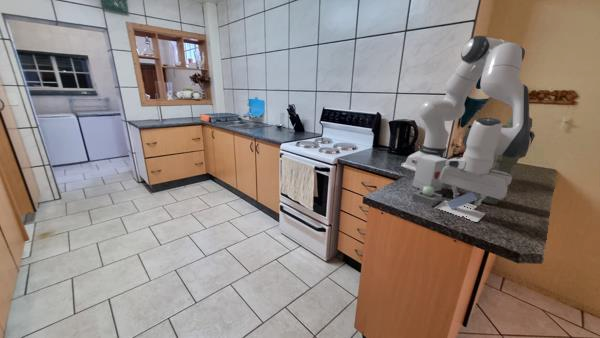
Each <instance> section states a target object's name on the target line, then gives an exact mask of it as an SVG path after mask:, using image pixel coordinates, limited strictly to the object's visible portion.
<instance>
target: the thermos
mask: <svg viewBox="0 0 600 338" xmlns="http://www.w3.org/2000/svg"><path fill="white" fill-rule="evenodd" d="M512 127H513V115H511V116H510V117H509V118H508V119H507V121H506V122H505V124H504V125H502V128H512ZM532 127H533V118H531V117H530V116H529V131H530V139H531V143H530V146H531V145H532V144H533V141H534V139H535V137H536V135H535V133H534V131H532ZM528 151H529V149H528V150H527V152H526V153H525V154H523V155H521V156H518V157H515V158H511V157H506V156H502V155H497V154H494V162H493V165H492V169H495V170H499V171H502V172H503V171H504V172H507V173H508V174H510V175H511V172H512V171H513V168H514V167H515V165H516V164H518V161H519V160H520V159H523V158H525V157H526V155H527V153H528ZM507 176H509V175H507ZM478 194H479V193H478ZM479 196H480V198H479V199H481V198H482V197H481V194H479ZM499 201H500V199H496V198H493V197H489V196H487V197H486V198H485V199H483V200H482V201H481V203H486V204H489V205H498V203H499Z"/></svg>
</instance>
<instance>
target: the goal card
mask: <svg viewBox="0 0 600 338" xmlns="http://www.w3.org/2000/svg"><path fill="white" fill-rule="evenodd" d="M462 206H463V207H464V206H465V207H466V208H467V207H468V208H469V209H470V208H471V209H472V210H476V209H477V208H478V205H476V204H471V203H467V204H464V205H462Z"/></svg>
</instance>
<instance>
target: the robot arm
mask: <svg viewBox="0 0 600 338" xmlns="http://www.w3.org/2000/svg"><path fill="white" fill-rule="evenodd" d="M525 54H526V51H525V48H523V47H522V46H520V44H518V43H516V42H510V41H508V40H504V39H498V38H494V37H487V36H485V35H474V36H472V37H471V38H469V40H468V41H467V42H466V43H465V45H464V46H463V48H462V50H461V53H460V56H461V57H460V58H461V62H459V64H458V65H457V67H456V68H455V70H454V72H453V73H452V75H451V76H450V78H449V79H448V80H447V82H446V84H445V85H444V86H445V91H446V93H445V96H444V98H443V99H431V100H427V101H424V102H423V103H422V104H421V105H420V107H419V110H418V114H419V117H420V119H421V120H423V123H424V127H425V132H424V133H425V134H424V141H423V144H421V145H419V146H418V149H419V150H418V151H415V152H414V153H411V154H410V155H408V156H407V158H406V161H405V162H402V163H401V165H400V167H402V168H404V169H407V170H410V171H413V172H416V167H417V162H418V157H419V156H425V155H434V156H438V157H441V158H445V157H446V154H447V145H448V140H449V135H450V134H449V131H448V130H447V129H446V126H445V123H446V122H452V121H456V120H458V119H461V118H462V117H463V115H464V114H465V112H466V106H465V102H466V100H467V97H468V96H469V94H470V93H471V92H472V89H474V87H475V86H476V84H477V83H478V81H479V80H480V83H479V84H480V89H481V91H482V92H483V93H484V94H485V95H486V96H488V97H489V98H491V99H494V100H498V101H501V102H503V103H504V104H507V105H509V106H510V107H511V109H512V116H513V127H512V128H502V126H503V122H502V121H501V120H500V119H497V118H495V117H494V118H493V117H480V118H476V119H474V121H473V123H472V125H471V127H469V128H467V129H466V130H465V133H464V138H463V141H462V145H463V146H464V147H465V148H466V149H465V151H464V153H463V155H462V157H453V158H449V159H448V160H447V161H446V165H447V166H445V167H444V168H443V170H442V172H441V175H440V182H442V183H443V184H445V185H448V186H451V190H452V192H453V195H452V197H453V199H455V198H458V197H459V196H461V194H460V192H459V191H458V188H459V189H462V190H466V191H469V192H471V191H472V192H476V193H479V194H481V197H482V198H481V199H477V200H475V201H474V204H473V205H475V206H481V205H482V200H483V199H485V198H486V197H487V196H489V197H493V198H496V199H499V200H501V199H502V200H503V199H504V198H505V197H507V193H508V188H509V187H508V186H509V185H510V184H511V183H512V180H513V177H512V175H511V173H510V174H508V173H507V172H504V171H503V172H502V171H499V170H495V169H492V165H493V162H494V154H497V155H502V156H506V157H511V158H515V157H518V156H521V155H523V154H525V153H526V152H527V153H528V151H529V149H530V147H531V145H530V143H531V139H530V131H529V117H530V93H529V88H528V86H527V85H525V84H523V83H522V81H521V78H520V73H521V68H522V63H523V60H524V58H525ZM531 144H532V143H531ZM527 150H528V151H527ZM527 153H526V154H527ZM445 159H446V158H445ZM507 175H509V176H507Z"/></svg>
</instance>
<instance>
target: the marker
mask: <svg viewBox="0 0 600 338" xmlns="http://www.w3.org/2000/svg"><path fill="white" fill-rule="evenodd" d="M479 198H480V196H479V194H478V193H476V192H472V191H469V192H466V193H464V194H462V195H459V197H458V198H453V199H451V200H447V201H448V202H447V203H448V205H449V206H450V208H451V209H454V208H457V207H459V206H462V205H464V204H467V203H469V204H471V203H472V202H475V200H477V199H479Z"/></svg>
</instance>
